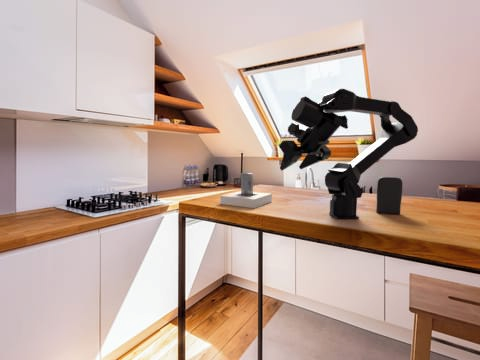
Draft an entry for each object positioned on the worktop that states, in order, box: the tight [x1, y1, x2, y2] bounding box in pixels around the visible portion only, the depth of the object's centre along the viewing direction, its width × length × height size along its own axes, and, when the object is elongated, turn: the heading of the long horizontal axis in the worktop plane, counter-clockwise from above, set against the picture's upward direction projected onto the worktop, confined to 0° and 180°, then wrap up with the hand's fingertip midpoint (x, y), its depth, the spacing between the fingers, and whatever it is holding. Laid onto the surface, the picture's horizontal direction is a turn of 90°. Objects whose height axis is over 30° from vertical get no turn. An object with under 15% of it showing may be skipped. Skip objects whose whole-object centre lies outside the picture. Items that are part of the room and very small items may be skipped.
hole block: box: [219, 190, 273, 209], centre depth 101 cm, size 14×14×3 cm
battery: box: [375, 176, 404, 215], centre depth 85 cm, size 7×4×11 cm, turn 69°
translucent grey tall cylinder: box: [240, 172, 254, 197], centre depth 101 cm, size 4×4×11 cm
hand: (290, 168), depth 87 cm, fingers open, 9 cm apart
